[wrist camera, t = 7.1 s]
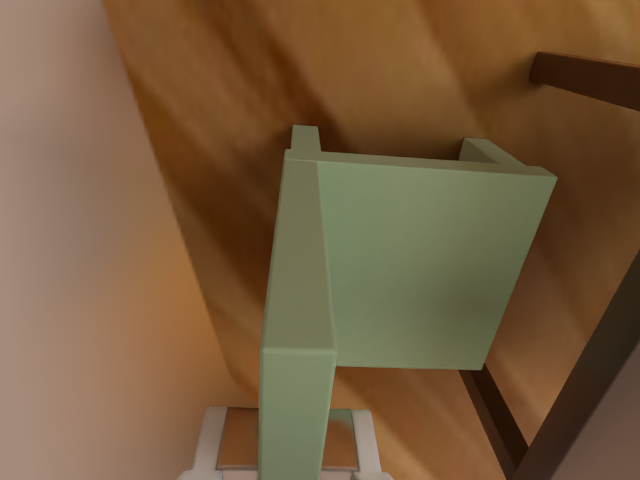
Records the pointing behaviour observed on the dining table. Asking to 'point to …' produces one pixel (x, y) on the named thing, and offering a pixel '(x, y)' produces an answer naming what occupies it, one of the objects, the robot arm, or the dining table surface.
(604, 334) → the toy table
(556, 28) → the dining table surface
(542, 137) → the dining table surface
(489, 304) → the chair
